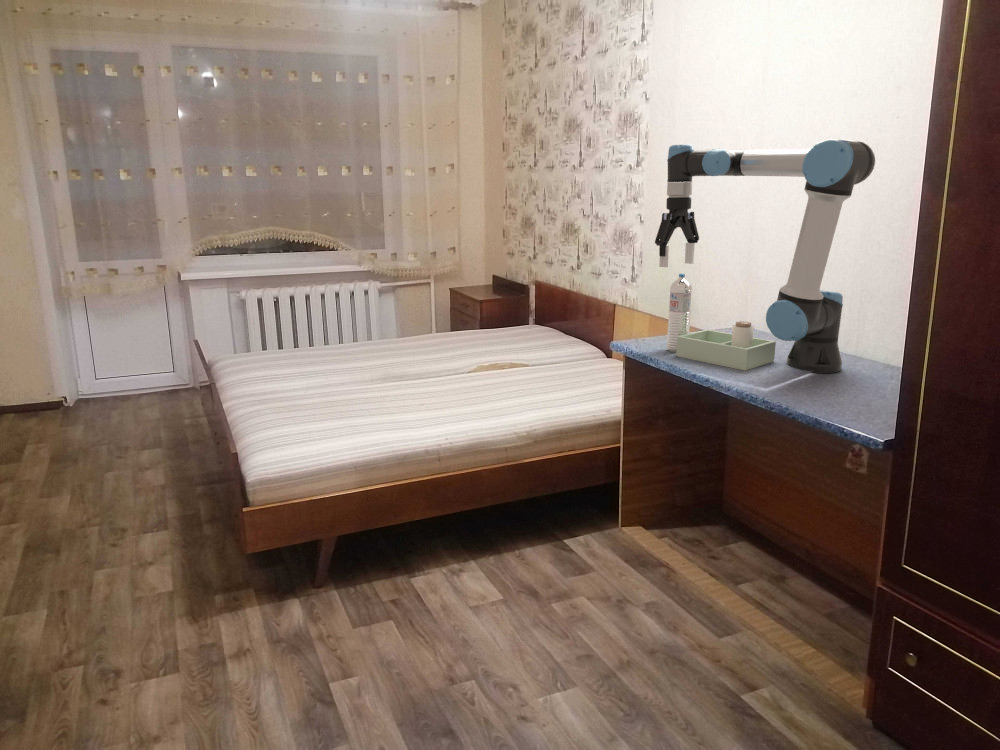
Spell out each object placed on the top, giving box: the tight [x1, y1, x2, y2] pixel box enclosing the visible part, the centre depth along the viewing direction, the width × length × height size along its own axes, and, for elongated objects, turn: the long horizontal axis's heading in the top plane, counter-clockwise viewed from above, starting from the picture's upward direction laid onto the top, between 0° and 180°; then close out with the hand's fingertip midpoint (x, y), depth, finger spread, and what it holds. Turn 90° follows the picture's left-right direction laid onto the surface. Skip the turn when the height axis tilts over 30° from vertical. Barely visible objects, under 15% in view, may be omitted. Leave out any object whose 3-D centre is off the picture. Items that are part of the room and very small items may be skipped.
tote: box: [675, 329, 777, 372], centre depth 230 cm, size 24×16×7 cm, turn 41°
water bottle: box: [666, 273, 693, 354], centre depth 242 cm, size 7×7×25 cm
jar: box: [731, 320, 755, 348], centre depth 226 cm, size 6×6×12 cm
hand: (676, 265), depth 239 cm, fingers open, 13 cm apart
